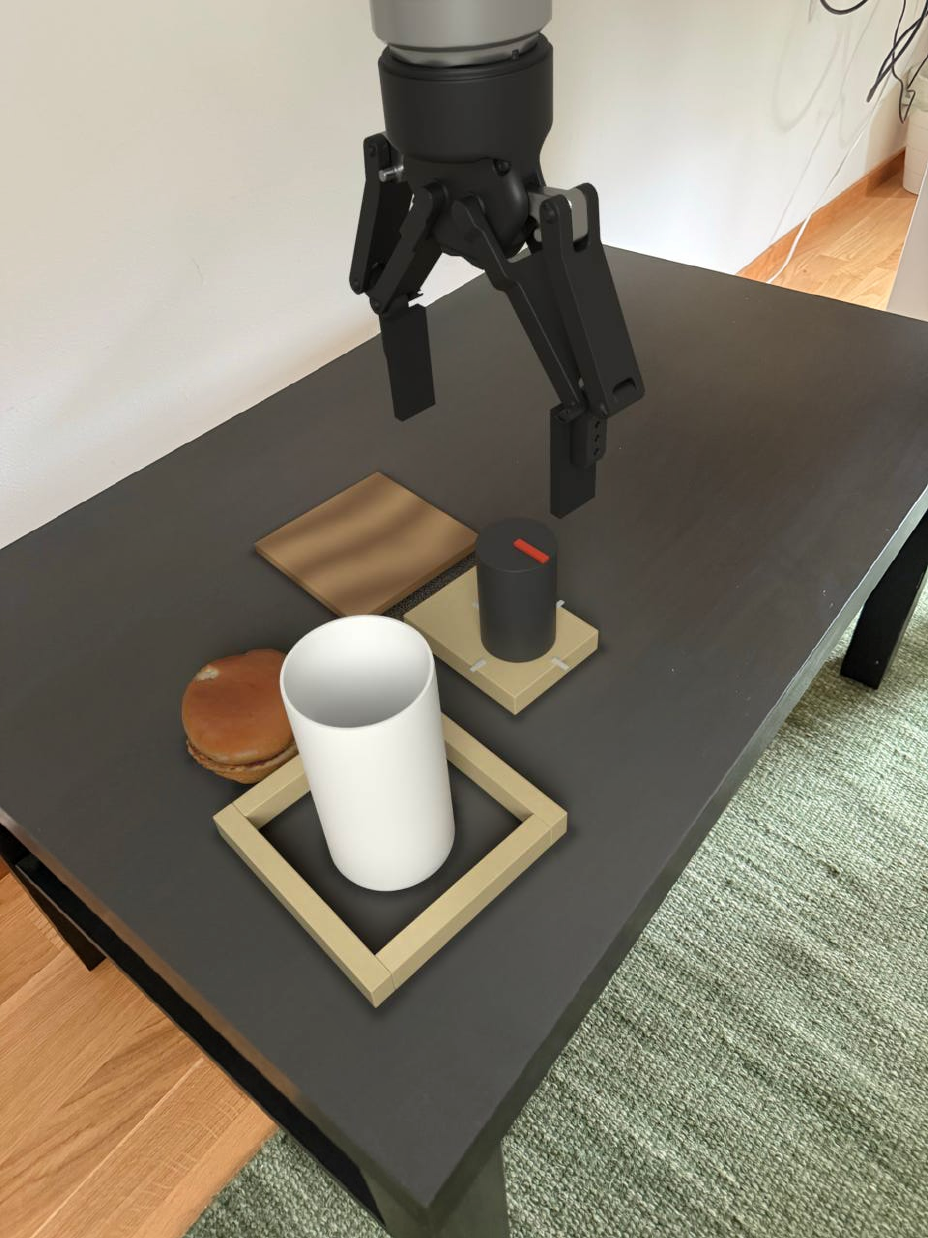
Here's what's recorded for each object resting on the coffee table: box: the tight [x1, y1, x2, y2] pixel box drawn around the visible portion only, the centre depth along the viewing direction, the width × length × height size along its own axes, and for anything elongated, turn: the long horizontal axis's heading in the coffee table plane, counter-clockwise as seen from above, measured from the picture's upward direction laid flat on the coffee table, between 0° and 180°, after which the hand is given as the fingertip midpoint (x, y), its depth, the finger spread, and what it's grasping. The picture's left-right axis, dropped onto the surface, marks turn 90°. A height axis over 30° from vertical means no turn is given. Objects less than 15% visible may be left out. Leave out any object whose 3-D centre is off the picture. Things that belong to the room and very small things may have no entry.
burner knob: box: [474, 517, 559, 663], centre depth 66 cm, size 6×6×9 cm
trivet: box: [254, 471, 479, 619], centre depth 80 cm, size 14×14×1 cm
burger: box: [181, 648, 299, 784], centre depth 65 cm, size 10×9×5 cm
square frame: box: [212, 711, 568, 1008], centre depth 59 cm, size 16×16×2 cm
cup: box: [280, 615, 456, 892], centre depth 54 cm, size 8×8×16 cm
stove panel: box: [402, 565, 599, 716], centre depth 71 cm, size 13×10×2 cm
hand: (488, 455), depth 54 cm, fingers open, 13 cm apart
